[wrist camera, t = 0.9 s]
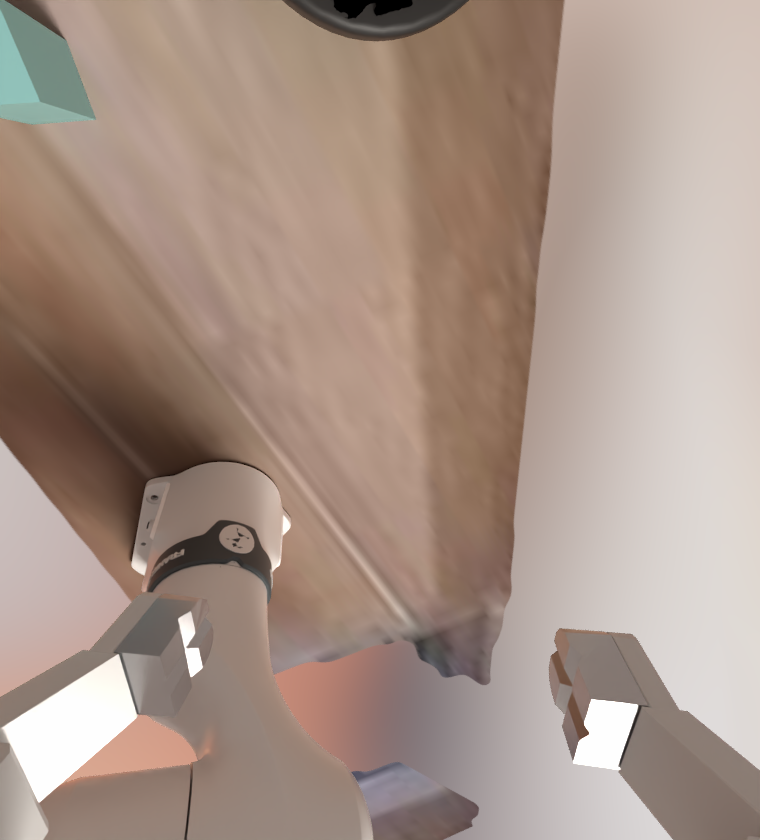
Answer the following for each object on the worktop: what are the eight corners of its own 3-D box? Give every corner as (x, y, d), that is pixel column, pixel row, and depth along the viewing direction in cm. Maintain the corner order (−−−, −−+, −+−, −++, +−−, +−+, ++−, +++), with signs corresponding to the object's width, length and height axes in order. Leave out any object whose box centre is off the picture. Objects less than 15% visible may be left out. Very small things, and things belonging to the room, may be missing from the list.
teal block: (96, 119, 31) (40, 101, 23) (31, 124, 30) (-47, 107, 23) (66, 40, 28) (-7, -8, 21) (-5, 44, 28) (-107, -5, 20)
